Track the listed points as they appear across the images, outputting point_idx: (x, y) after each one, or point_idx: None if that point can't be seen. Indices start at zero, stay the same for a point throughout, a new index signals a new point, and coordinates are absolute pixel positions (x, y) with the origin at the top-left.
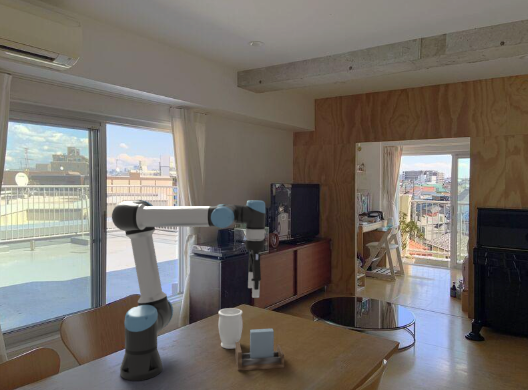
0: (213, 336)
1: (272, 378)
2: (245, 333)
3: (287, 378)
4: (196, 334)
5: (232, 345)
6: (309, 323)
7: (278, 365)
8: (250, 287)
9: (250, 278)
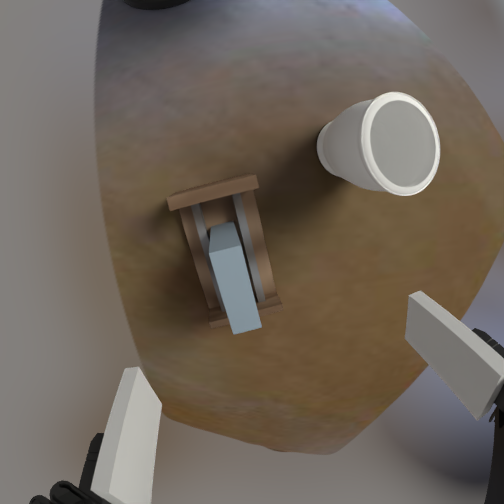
0: None
1: (149, 287)
2: None
3: (156, 319)
4: (397, 56)
5: (324, 155)
6: None
7: (206, 300)
8: (410, 313)
9: (457, 354)
